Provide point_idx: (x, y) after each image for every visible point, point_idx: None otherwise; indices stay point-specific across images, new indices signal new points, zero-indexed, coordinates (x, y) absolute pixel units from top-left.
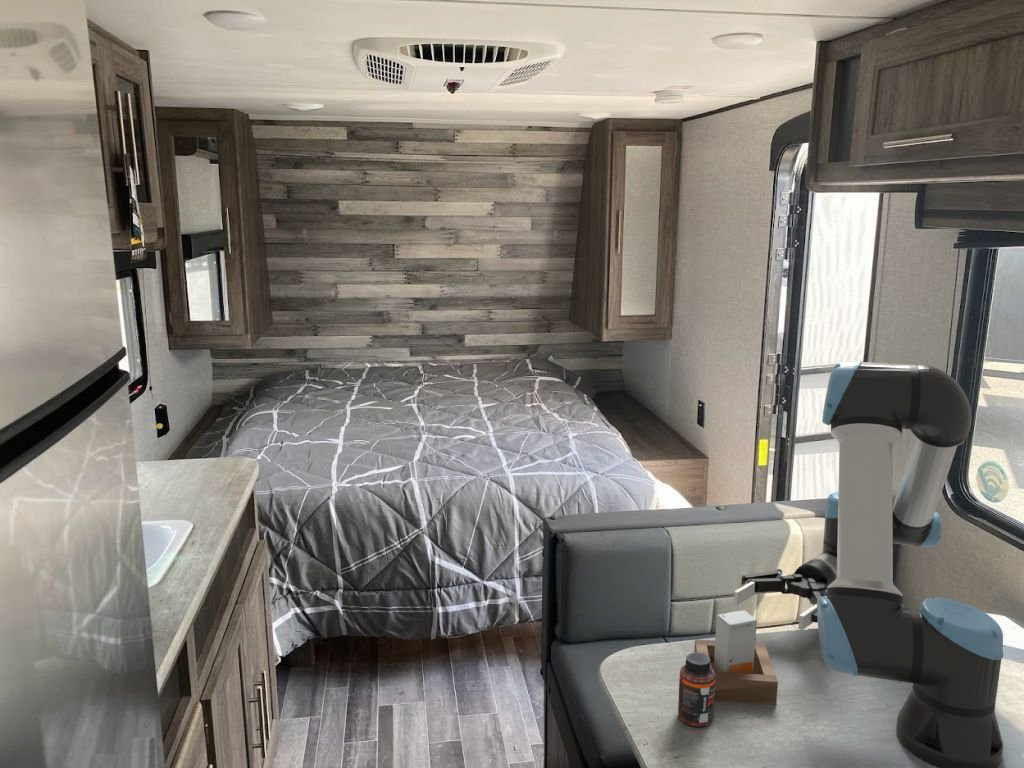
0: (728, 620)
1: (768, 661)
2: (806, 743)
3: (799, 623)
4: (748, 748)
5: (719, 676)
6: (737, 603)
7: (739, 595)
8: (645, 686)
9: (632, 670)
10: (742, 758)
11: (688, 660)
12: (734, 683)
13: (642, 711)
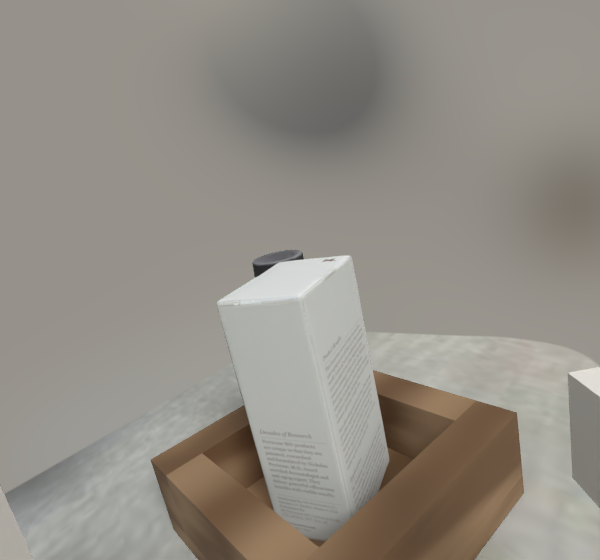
0: (296, 262)
1: (218, 514)
2: (76, 481)
3: (16, 537)
4: (186, 405)
5: None
6: (578, 472)
7: (593, 429)
8: (449, 366)
9: (527, 367)
10: (187, 390)
11: (286, 250)
12: None
13: (381, 344)
